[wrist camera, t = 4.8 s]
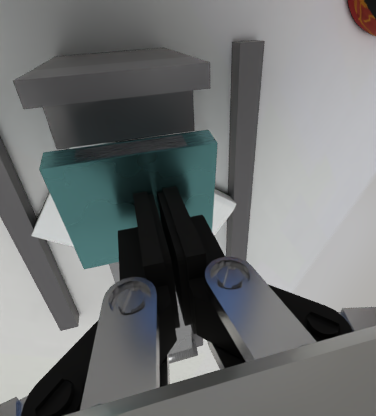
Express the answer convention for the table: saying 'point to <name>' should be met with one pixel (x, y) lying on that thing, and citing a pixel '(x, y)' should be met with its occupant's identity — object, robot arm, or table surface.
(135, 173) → the rectangular panel
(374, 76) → the table surface
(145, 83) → the socket frame
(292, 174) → the table surface
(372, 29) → the canned food
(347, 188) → the table surface
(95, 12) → the table surface
